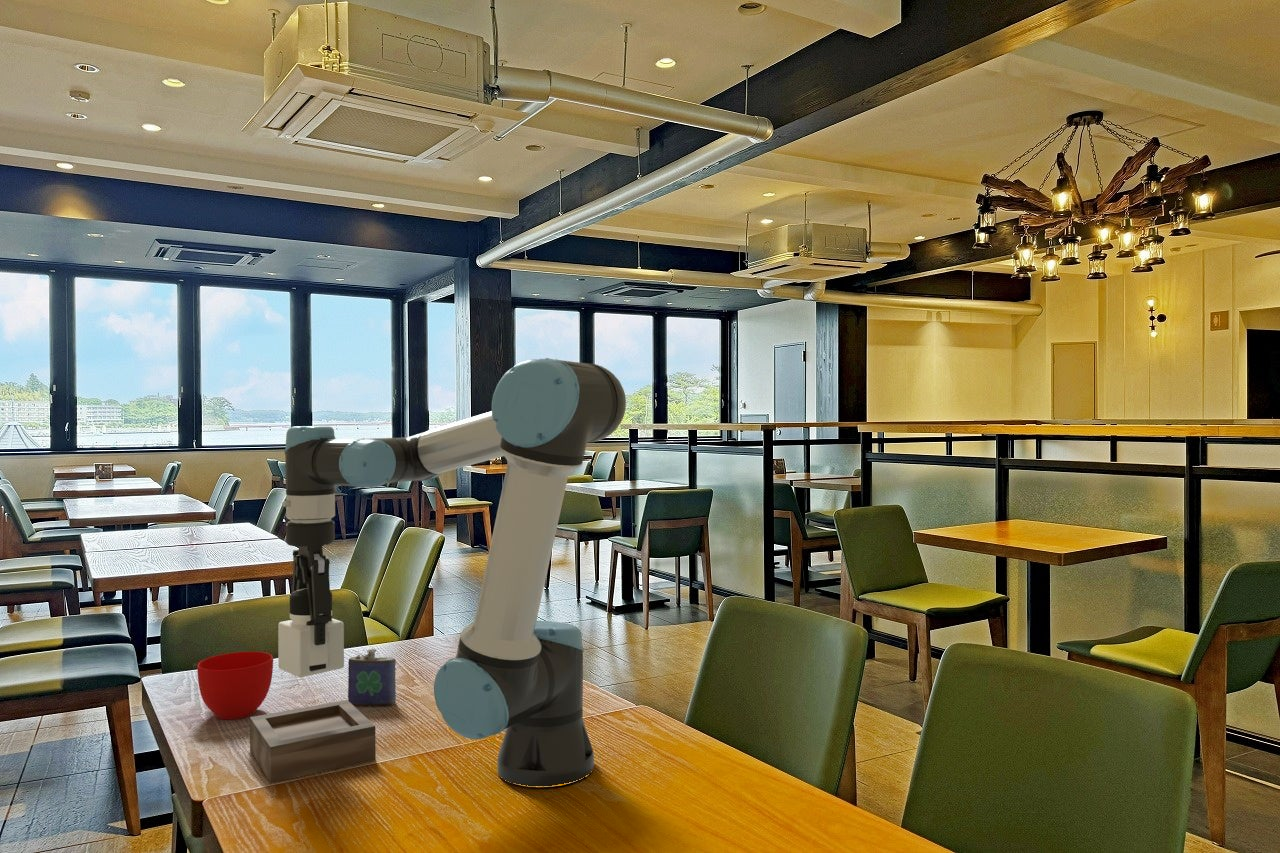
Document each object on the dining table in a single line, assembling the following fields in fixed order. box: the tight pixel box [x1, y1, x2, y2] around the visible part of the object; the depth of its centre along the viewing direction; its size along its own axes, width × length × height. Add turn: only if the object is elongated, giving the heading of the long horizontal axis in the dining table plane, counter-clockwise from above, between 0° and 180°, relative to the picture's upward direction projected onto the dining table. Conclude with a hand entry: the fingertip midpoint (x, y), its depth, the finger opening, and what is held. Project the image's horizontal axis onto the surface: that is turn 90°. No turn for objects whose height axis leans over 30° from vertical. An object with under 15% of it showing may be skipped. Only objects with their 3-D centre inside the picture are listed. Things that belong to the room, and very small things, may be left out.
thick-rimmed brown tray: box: [249, 699, 377, 784], centre depth 145 cm, size 16×16×6 cm
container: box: [277, 588, 345, 678], centre depth 144 cm, size 8×8×13 cm
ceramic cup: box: [196, 651, 274, 720], centre depth 166 cm, size 13×17×10 cm
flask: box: [347, 648, 397, 708], centre depth 170 cm, size 9×3×11 cm, turn 88°
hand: (310, 657), depth 144 cm, fingers closed on container, 9 cm apart
